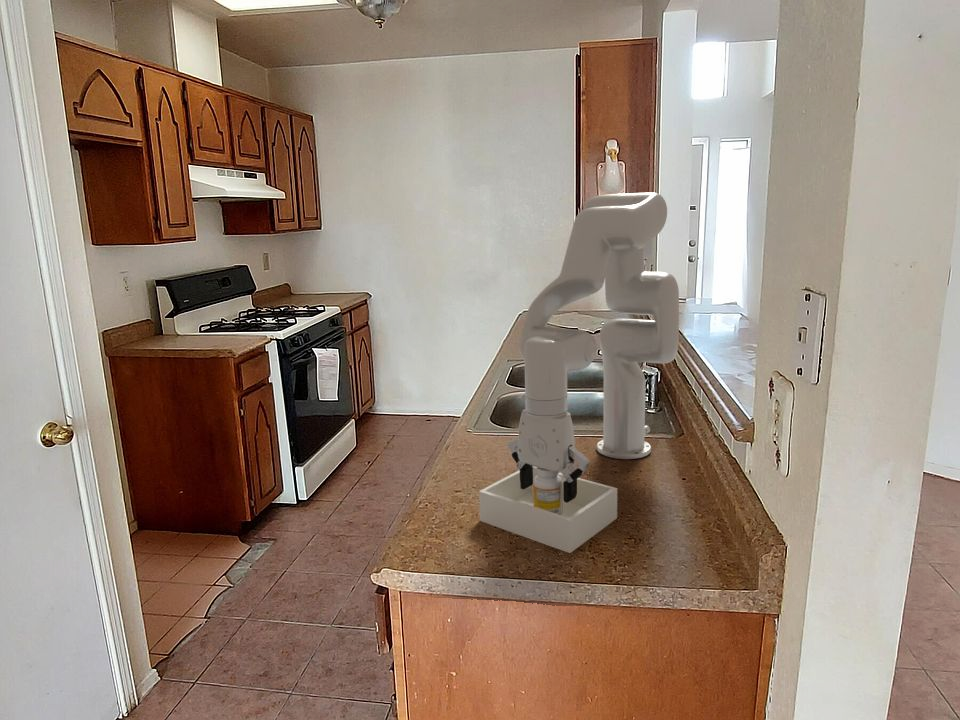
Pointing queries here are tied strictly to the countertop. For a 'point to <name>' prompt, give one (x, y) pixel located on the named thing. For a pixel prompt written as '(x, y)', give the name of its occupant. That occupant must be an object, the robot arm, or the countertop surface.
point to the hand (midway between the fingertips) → (547, 493)
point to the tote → (564, 532)
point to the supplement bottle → (548, 491)
